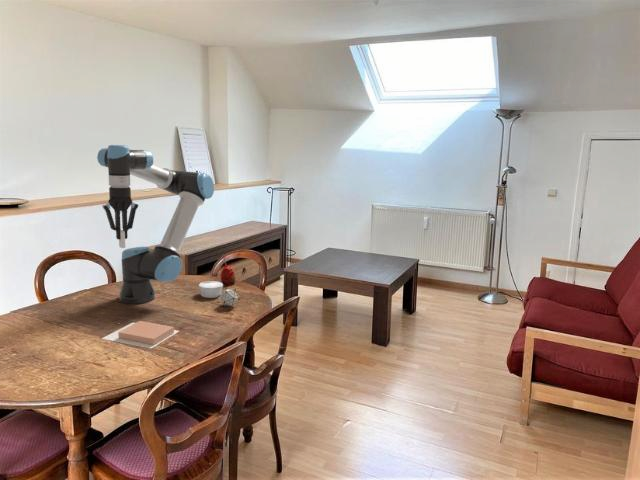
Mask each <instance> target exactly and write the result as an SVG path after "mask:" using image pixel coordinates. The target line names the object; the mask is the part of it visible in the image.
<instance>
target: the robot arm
mask: <svg viewBox="0 0 640 480" xmlns="http://www.w3.org/2000/svg"><path fill="white" fill-rule="evenodd" d="M96 159H97V162H98V164H99V165H100V166H102V167H105V168H107V170H108V186H109V187H108V188H109V189H108V191H109V192H108V193H109V199H108V202H107V203H106V204H103V205H102V206H101V207H102V209H103V210H104V211H105V214H106V217H107V220H108V223H109V227H110V229H111V230H113V231H115V237H116V240H118V247H119V248H121V249H123V251H122V252H121V270H122V271H121V273H122V283H121V284H122V285H121V288H120V291H119V295H118V299H119V302H120V303H121V302H122V303H123V304H124V303H126V304H144V303H147V302H151V301H153V300H155V298H156V291H155V288H154V286H153V284H152V281H153V280H154V281H158V282H160V283H161V282H166V283H171V282H173V281H174V280H176V279H177V278H178V277H179V276H180V274H181V271H182V270H183V269H182V267H183V266H182V265H183V261H182V259H181V257H182V256H181V252H180V251H181V249H182V245H183V243H184V241H185V239H186V237H187V233H188V231H189V230H190V227H191V224H192V223H193V221H194V220H193V219H194V217H195V216H196V213H197V210H198V208H199V207H200V206H203V205H204V202H205V201H206V200H208V199H211V198H212V197H213V196H214V192H215V184H214V183H215V182H214V179H213V178H212V176H211V175H210V174H208V173H206V172H201V171H199V172H197V171H195V172H194V171H184V170H174V169H173V170H171V169H169V168H161V167H159V166H157V165H155V164H154V155H153V154H152V152H151V151H149V150H146V149H130V147H129V145H127V144H110V145H107V148H106V147H104V148H101V149H100V150H99V151H98V153H97V156H96ZM131 176H134V177H137V178H139V179H142V180H144V181H146V182H149V183H152V184H155V185H156V187H158V188H159V189H161V190H164V191H167V192H168V193H171V194H173V195H176V196H178V197H179V198H180V199H179V201H178V203H177V206H176V208H175V210H174V212H173V214H172V216H171V219H170V222H169V224H168V226H167V228H166V230H165V233H164V235H163V237H162V240H161V242H160V243H159V244H158V245H157V244H156V245H155V247H154V248H153V251H151V249H150V247H149V246H136V247H130V248H126V240H127V239H128V236H129V235H128V231H129V230H131V229H133V227H134V226H133V225H134V221H135V217H136V212H137V210H138V207H139V204H137V203H135V202H133V200H132V194H131V193H132V191H131V190H132V189H131ZM130 207H131V208H130ZM111 208H112V209H113V210H114V218H113V215H112V212H111ZM129 208H130V212H129V216H128V209H129ZM121 219H122V220H121ZM121 224H122V225H121ZM121 226H122V227H121ZM121 228H122V229H121ZM125 248H126V249H125ZM151 280H152V281H151Z"/></svg>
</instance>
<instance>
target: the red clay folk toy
mask: <svg viewBox="0 0 640 480" xmlns="http://www.w3.org/2000/svg"><path fill="white" fill-rule="evenodd" d="M226 257H227V255H224V254H222V257H221V258H220V259H221V260H223V261H224V267H223V268H222V269H221V273H220V280H221V283H222V284H223V286H225V285H226V286H230V285H233V283H234V284H235V281H236V275H235V271H234V270H233V267H232V266H231V265H227V261H226Z"/></svg>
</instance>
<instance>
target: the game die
mask: <svg viewBox="0 0 640 480" xmlns="http://www.w3.org/2000/svg"><path fill="white" fill-rule="evenodd" d="M236 291H237V288H235V289H229V288H227V287H225V289H224V290H223V291H222V293H221V295H220V296H219V295H218V297H219V298H220V300H221V302H222V307H224V306H229V307H231V308H232V309H233V308H234V304H236V303H237V301H240V300H241V298H239V297H238V294H237V292H236ZM218 297H217V298H218Z"/></svg>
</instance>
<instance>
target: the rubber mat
mask: <svg viewBox="0 0 640 480" xmlns="http://www.w3.org/2000/svg"><path fill="white" fill-rule="evenodd" d="M135 323H136V322H131V323H128V324H127V325H125V326H122V327H121V328H119V329H117V330H115V331H113V332H112V333H109V334H108V335H106V336H104V337H102V338H101V340H106V341H112V342H117V343H121V344H127V345H132V346H137V347H141V348H146V349H152V348H154V347H156V346H158V345H159V344H161V343H163V342H164V341H166V340H168V339H169V338H171V337H173V336H174V335H176V334H177V333H179V332H180V330H176V329H174V333H173V334H171V335H169V336H168V337H166V338H164V339H163V340H161V341H160V342H158V343H156V344H155V345H152V344H147V343H142V342H137V341H132V340H127V339H122V338H119V336H118V332H120V331H122V330H123V329H125V328H127V327H129V326H131V325H133V324H135Z"/></svg>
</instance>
